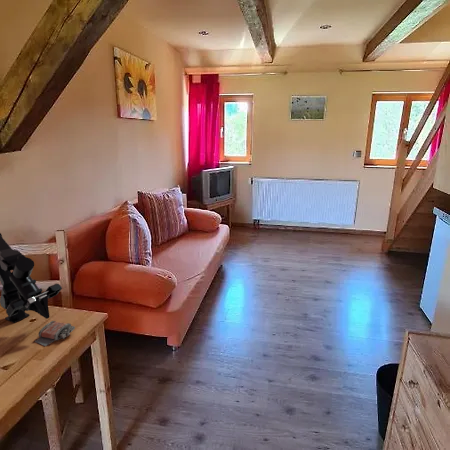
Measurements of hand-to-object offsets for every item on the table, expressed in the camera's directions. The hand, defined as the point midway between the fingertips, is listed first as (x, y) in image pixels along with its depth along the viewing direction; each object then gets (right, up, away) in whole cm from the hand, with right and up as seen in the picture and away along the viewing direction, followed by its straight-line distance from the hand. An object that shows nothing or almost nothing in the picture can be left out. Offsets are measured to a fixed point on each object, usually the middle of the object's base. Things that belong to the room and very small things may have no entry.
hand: (48, 318), depth 122 cm
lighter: (-3, -5, +4) cm, 7 cm away
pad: (+1, -7, +2) cm, 8 cm away
